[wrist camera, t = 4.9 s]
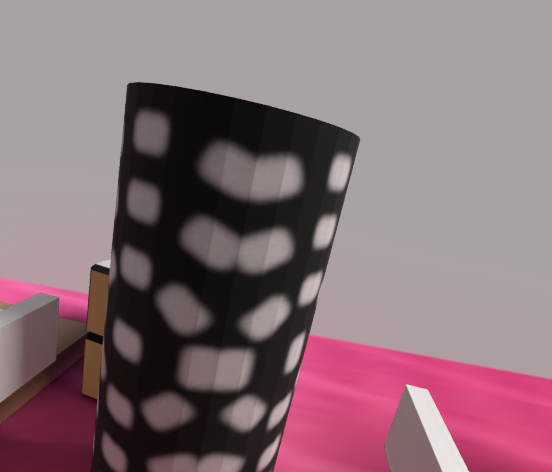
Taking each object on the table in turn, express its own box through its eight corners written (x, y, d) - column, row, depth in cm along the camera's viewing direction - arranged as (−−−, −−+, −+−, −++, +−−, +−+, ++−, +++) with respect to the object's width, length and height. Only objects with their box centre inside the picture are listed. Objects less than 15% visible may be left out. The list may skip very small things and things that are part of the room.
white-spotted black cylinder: (285, 512, 18) (387, 150, 14) (159, 702, 11) (281, 96, 7) (184, 424, 22) (236, 124, 18) (48, 524, 15) (75, 75, 11)
